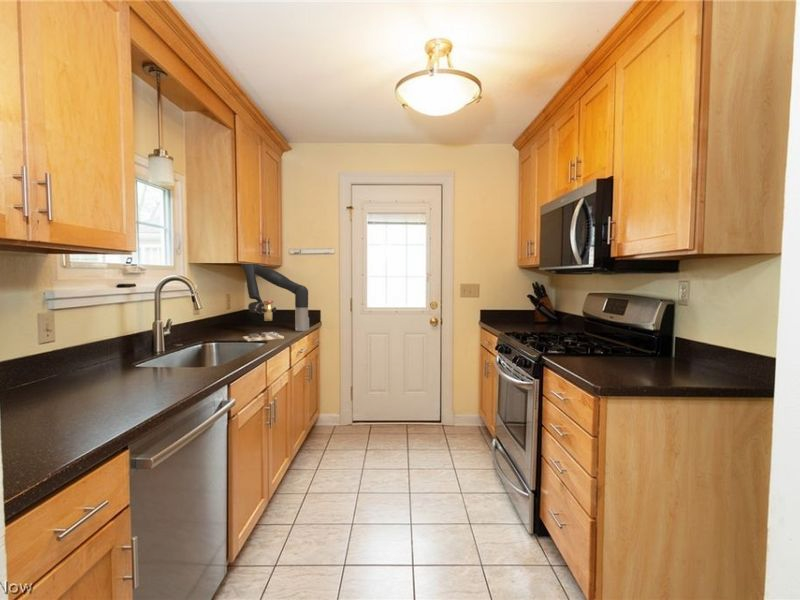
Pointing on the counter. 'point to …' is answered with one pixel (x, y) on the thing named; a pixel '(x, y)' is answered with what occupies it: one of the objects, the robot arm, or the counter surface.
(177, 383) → the counter surface
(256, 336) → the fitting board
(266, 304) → the yellow jar
